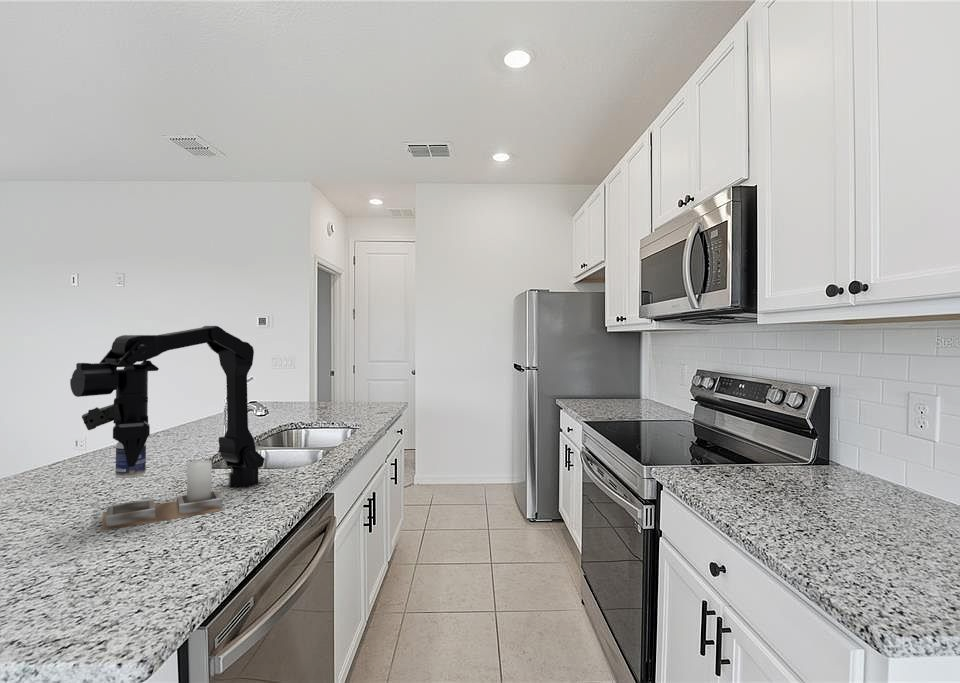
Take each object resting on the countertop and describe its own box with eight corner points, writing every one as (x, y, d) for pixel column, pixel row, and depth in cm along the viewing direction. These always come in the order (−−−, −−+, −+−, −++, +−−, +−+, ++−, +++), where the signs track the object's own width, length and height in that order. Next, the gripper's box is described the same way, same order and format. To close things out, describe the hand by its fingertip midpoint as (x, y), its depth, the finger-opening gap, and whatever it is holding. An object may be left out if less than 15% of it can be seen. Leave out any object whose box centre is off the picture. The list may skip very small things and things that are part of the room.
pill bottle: (130, 479, 106) (130, 433, 106) (109, 477, 107) (109, 432, 107) (151, 473, 111) (152, 429, 111) (131, 471, 112) (131, 428, 112)
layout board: (215, 501, 124) (215, 487, 124) (223, 516, 114) (223, 501, 114) (103, 518, 112) (103, 503, 112) (100, 538, 101) (101, 521, 101)
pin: (209, 500, 120) (210, 459, 120) (212, 506, 116) (213, 463, 116) (185, 504, 117) (186, 462, 117) (187, 510, 113) (188, 466, 113)
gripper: (88, 390, 112) (88, 459, 112) (81, 399, 97) (80, 479, 97) (148, 388, 119) (147, 453, 119) (150, 396, 103) (149, 471, 103)
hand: (131, 463), depth 109 cm, fingers closed on pill bottle, 5 cm apart
